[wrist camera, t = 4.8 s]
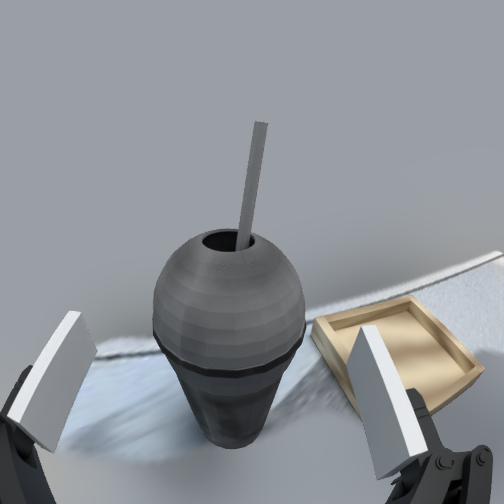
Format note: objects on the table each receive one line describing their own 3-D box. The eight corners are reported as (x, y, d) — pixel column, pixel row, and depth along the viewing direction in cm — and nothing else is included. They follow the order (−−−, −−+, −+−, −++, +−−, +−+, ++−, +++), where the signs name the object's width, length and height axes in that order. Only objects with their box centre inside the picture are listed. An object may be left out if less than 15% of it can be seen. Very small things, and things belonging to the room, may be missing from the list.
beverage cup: (173, 401, 19) (123, 125, 10) (253, 377, 22) (269, 121, 13) (204, 477, 14) (125, 129, 4) (296, 441, 17) (383, 138, 7)
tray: (473, 384, 19) (485, 368, 18) (377, 447, 15) (390, 434, 14) (405, 310, 31) (411, 294, 30) (310, 335, 27) (314, 317, 26)
